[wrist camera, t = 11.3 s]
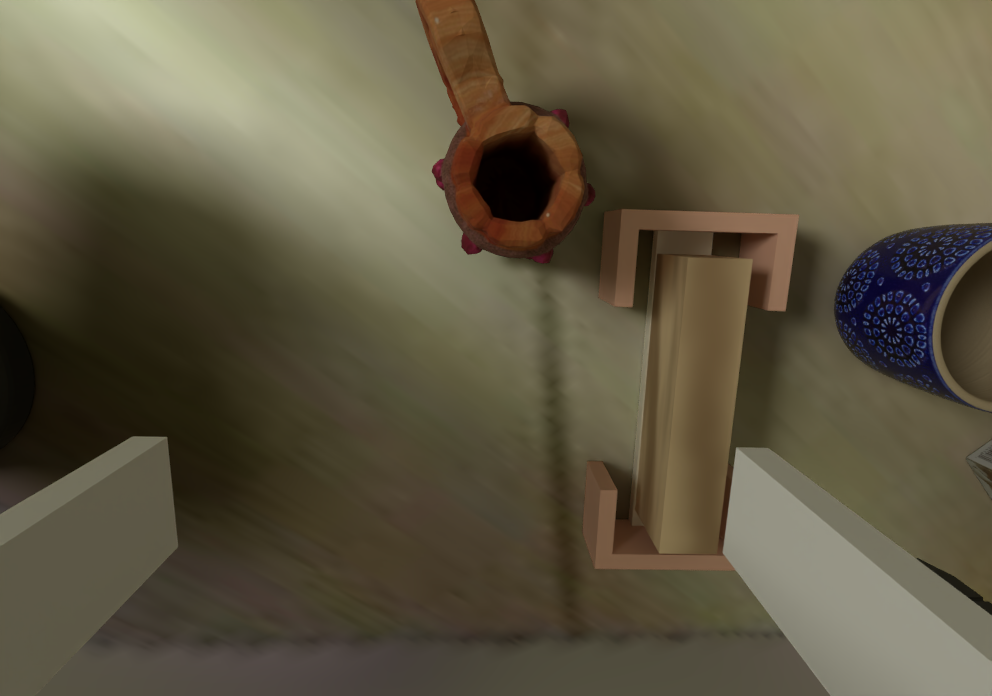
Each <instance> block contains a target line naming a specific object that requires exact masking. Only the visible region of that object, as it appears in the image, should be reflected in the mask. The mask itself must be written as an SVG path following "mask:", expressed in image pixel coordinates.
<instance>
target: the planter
mask: <svg viewBox="0 0 992 696" xmlns="http://www.w3.org/2000/svg"><path fill="white" fill-rule="evenodd" d="M834 314H835V321H836V325H837V329H838V332H839V334H840V336H841V338H842V340H843V341H844V343H845V345H846V346H847V348H848V349H849V350H850V351H851V353H852V354H853V355H854V356H855V357H857V358H858V359H859V360H860V361H862V362H863V363H864V364H866V365H867V366H869V367H870V368H872V369H874V370H876V371H878V372H880V373H882V374H884V375H886V376H888V377H891V378H893V379H895V380H897V381H899V382H902V383H904V384H907V385H910V386H912V387H915V388H917V389H920V390H922V391H925V392H928V393H930V394H933V395H936V396H939V397H942V398H944V399H947V400H950V401H953V402H956V403H959V404H962V405H965V406H968V407H971V408H975V409H978V410H982V411H986V412H990V413H992V223H976V224H952V225H941V226H931V227H923V228H916V229H910V230H906V231H903V232H899V233H896V234H893V235H890V236H888V237H886V238H884V239H882V240H880V241H878V242H877V243H875V244H873V245H872V246H871V247H869V248H868V249H866V250H865V251H864V252H863V253H861V254H860V255H859V256H858V257H857V258H856V259H855V260H854V261H853V263H852V264H851V265H850V266H849V268H848V269H847V270H846V272H845V274H844V275H843V277H842V279H841V281H840V283H839V286H838V289H837V292H836V296H835V303H834Z"/></svg>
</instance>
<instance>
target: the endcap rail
mask: <svg viewBox="0 0 992 696" xmlns="http://www.w3.org/2000/svg"><path fill="white" fill-rule="evenodd" d="M798 219H799V215H790V214H760V213H729V212H698V211H667V210H637V209H619V210H613V211H607V212H604V225H603V239H602V254H601V268H600V283H599V297H598V298H600V299H602V300H604V301H605V302H607V303H609V304H611V305H612V306H614V307H633V297H634V284H635V272H636V260H637V248H638V236H639V230H653V231H654V233H653V245H652V256H651V267H650V279H649V290H648V301H647V313H646V324H645V336H644V347H643V358H642V370H641V381H640V393H639V404H638V415H637V427H636V438H635V450H634V461H633V472H632V484H631V495H630V507H629V518H628V519H615V515H616V503H617V491H618V490H617V488H616V487H615V485H614V483H613V481H612V479H611V477H610V475H609V473H608V471H607V469H606V468H605V466H604V464H603V462H602V461H587V471H586V485H585V500H584V514H583V529H582V533H583V536H584V539H585V542H586V545H587V548H588V551H589V554H590V557H591V559H592V562H593V565H594V568H595V569H643V570H731V571H736V570H735V569H734V567H733V566H732V565H731V563H730V562H729V561H728V559H727V558H726V557H725V555H724V554H723V547H724V539H725V531H726V524H727V516H728V508H729V500H730V493H731V485H732V477H733V469H734V468H733V467H732V466H731V465H730V464H728V467H727V475H726V483H725V492H724V500H723V508H722V516H721V524H720V533H719V541H718V549H717V554H659V552H658V551H657V549H656V547H655V545H654V543H653V541H652V540H651V538H650V536H649V534H648V532H647V531H646V529H645V527H644V525H643V523H642V522H641V520H640V518H639V516H638V514H637V513H636V511H635V505H636V493H637V482H638V470H639V458H640V447H641V435H642V424H643V412H644V400H645V389H646V377H647V366H648V354H649V342H650V331H651V319H652V308H653V296H654V284H655V273H656V261H657V254H687V255H711V252H712V243H713V234H714V232H717V233H742V235H741V244H740V252H739V258H746V259H753V262H752V271H751V279H750V287H749V295H748V303H747V305H749V306H752V307H756V308H760V309H763V310H767V311H786V304H787V297H788V290H789V283H790V276H791V269H792V262H793V254H794V247H795V240H796V233H797V226H798Z"/></svg>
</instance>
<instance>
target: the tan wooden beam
mask: <svg viewBox="0 0 992 696" xmlns="http://www.w3.org/2000/svg"><path fill="white" fill-rule="evenodd" d="M752 262H753V259H746V258H736V257H726V256H716V255H687V254H657V261H656V273H655V284H654V296H653V308H652V319H651V331H650V342H649V354H648V366H647V377H646V389H645V400H644V412H643V424H642V435H641V447H640V458H639V470H638V482H637V493H636V505H635V511H636V513H637V514H638V516H639V518H640V520H641V522H642V523H643V525H644V527H645V529H646V531H647V532H648V534H649V536H650V538H651V540H652V541H653V543H654V545H655V547H656V549H657V551H658V552H659V554H717V549H718V541H719V533H720V524H721V516H722V508H723V500H724V492H725V483H726V475H727V467H728V459H729V451H730V443H731V434H732V426H733V418H734V410H735V402H736V393H737V385H738V377H739V369H740V361H741V353H742V344H743V336H744V328H745V320H746V312H747V303H748V295H749V287H750V279H751V271H752Z"/></svg>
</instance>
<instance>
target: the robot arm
mask: <svg viewBox="0 0 992 696" xmlns="http://www.w3.org/2000/svg"><path fill="white" fill-rule="evenodd" d="M33 395H34V372H33V366H32V361H31V358H30V354H29V351H28V349H27V346H26V344H25V341H24V339H23V337H22V335H21V333H20V332H19V330H18V328H17V327H16V325H15V324H14V322H13V321H12V320H11V318H10V317H9V316H8V315H7V313H6V312H5V311H4V310H3V309H2V308H1V307H0V449H1V448H2V447H3V446H5V445H6V444H7V443H8V442H10V441H11V440H12V439H13V438H14V437H15V435H16V434H17V433H18V432H19V430H20V429H21V428H22V426H23V424H24V423H25V421H26V419H27V417H28V414H29V412H30V409H31V405H32V401H33ZM177 547H178V540H177V530H176V520H175V510H174V500H173V490H172V480H171V470H170V460H169V450H168V440H167V437H139V436H133V437H131V438H129V439H127V440H126V441H124V442H122V443H121V444H119V445H117V446H116V447H114V448H112V449H110V450H109V451H107V452H105V453H104V454H102V455H100V456H99V457H97V458H95V459H93V460H92V461H90V462H88V463H87V464H85V465H83V466H82V467H80V468H78V469H76V470H75V471H73V472H71V473H70V474H68V475H66V476H65V477H63V478H61V479H59V480H58V481H56V482H54V483H53V484H51V485H49V486H48V487H46V488H44V489H42V490H41V491H39V492H37V493H36V494H34V495H32V496H31V497H29V498H27V499H25V500H24V501H22V502H20V503H19V504H17V505H15V506H14V507H12V508H10V509H8V510H7V511H5V512H3V513H2V514H0V696H35V695H36V694H37V693H38V692H39V691H40V690H41V689H42V688H43V687H44V686H45V685H46V684H47V683H48V682H49V681H50V680H51V678H52V677H53V676H54V675H55V674H56V673H57V672H58V671H59V670H60V669H61V668H62V667H63V666H64V665H65V664H66V663H67V662H68V661H69V660H70V659H71V658H72V657H73V656H74V655H75V654H76V652H77V651H78V650H79V649H80V648H81V647H82V646H83V645H84V644H85V643H86V642H87V641H88V640H89V639H90V638H91V637H92V636H93V635H94V634H95V633H96V632H97V631H98V630H99V629H100V627H101V626H102V625H103V624H104V623H105V622H106V621H107V620H108V619H109V618H110V617H111V616H112V615H113V614H114V613H115V612H116V611H117V610H118V609H119V608H120V607H121V606H122V605H123V604H124V602H125V601H126V600H127V599H128V598H129V597H130V596H131V595H132V594H133V593H134V592H135V591H136V590H137V589H138V588H139V587H140V586H141V585H142V584H143V583H144V582H145V581H146V580H147V579H148V578H149V576H150V575H151V574H152V573H153V572H154V571H155V570H156V569H157V568H158V567H159V566H160V565H161V564H162V563H163V562H164V561H165V560H166V559H167V558H168V557H169V556H170V555H171V554H172V553H173V551H174V550H175V549H176V548H177ZM723 554H724V555H725V557H726V558H727V559H728V561H729V562H730V563H731V565H732V566H733V567H734V569H735V570H736V571H737V572H738V574H739V575H740V576H741V578H742V579H743V580H744V582H745V583H746V584H747V586H748V587H749V588H750V590H751V591H752V592H753V594H754V595H755V596H756V598H757V599H758V600H759V602H760V603H761V604H762V606H763V607H764V608H765V610H766V611H767V612H768V614H769V615H770V616H771V618H772V619H773V620H774V622H775V623H776V624H777V625H778V627H779V628H780V629H781V631H782V632H783V633H784V635H785V636H786V637H787V639H788V640H789V641H790V643H791V644H792V645H793V647H794V648H795V649H796V651H797V652H798V653H799V655H800V656H801V657H802V658H803V660H804V661H805V663H806V664H807V665H808V667H809V668H810V669H811V671H812V672H813V673H814V674H815V676H816V677H817V678H818V680H819V681H820V682H821V684H822V685H823V686H824V688H825V689H826V690H827V692H828V693H829V694H830V696H992V604H991V603H990V602H984V601H983V597H982V596H980V595H979V594H978V593H976V592H975V591H973V590H972V589H971V588H969V587H968V586H967V585H965V584H964V583H962V582H961V581H960V580H958V579H957V578H956V577H954V576H952V575H950V574H948V573H946V572H944V571H942V570H940V569H938V568H936V567H934V566H932V565H930V564H928V563H926V562H924V561H922V560H920V559H918V558H914V557H913V556H912V555H910V554H909V553H908V552H906V551H905V550H904V549H902V548H901V547H900V546H898V545H897V544H896V543H894V542H893V541H892V540H890V539H889V538H888V537H886V536H885V535H884V534H882V533H881V532H880V531H878V530H877V529H876V528H874V527H873V526H872V525H870V524H869V523H868V522H866V521H865V520H864V519H862V518H861V517H860V516H858V515H857V514H856V513H854V512H853V511H852V510H850V509H849V508H848V507H846V506H845V505H844V504H842V503H841V502H840V501H838V500H837V499H836V498H834V497H833V496H832V495H830V494H829V493H828V492H826V491H825V490H824V489H822V488H821V487H820V486H818V485H817V484H816V483H814V482H813V481H812V480H810V479H809V478H808V477H806V476H805V475H804V474H802V473H801V472H800V471H798V470H797V469H796V468H794V467H793V466H792V465H790V464H789V463H788V462H786V461H785V460H784V459H782V458H781V457H780V456H778V455H777V454H776V453H774V452H773V451H772V450H770V449H769V448H746V447H736V454H735V462H734V469H733V477H732V485H731V493H730V500H729V508H728V516H727V524H726V531H725V539H724V547H723Z"/></svg>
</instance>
